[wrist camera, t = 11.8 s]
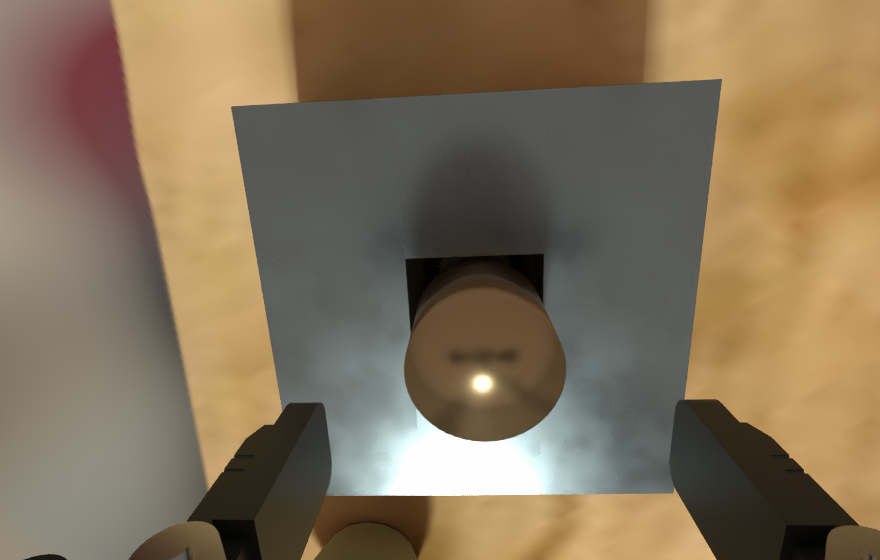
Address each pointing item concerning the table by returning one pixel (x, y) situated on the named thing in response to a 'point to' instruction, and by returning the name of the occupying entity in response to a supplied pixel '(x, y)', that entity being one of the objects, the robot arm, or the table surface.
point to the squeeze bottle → (367, 544)
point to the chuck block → (485, 234)
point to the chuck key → (483, 352)
